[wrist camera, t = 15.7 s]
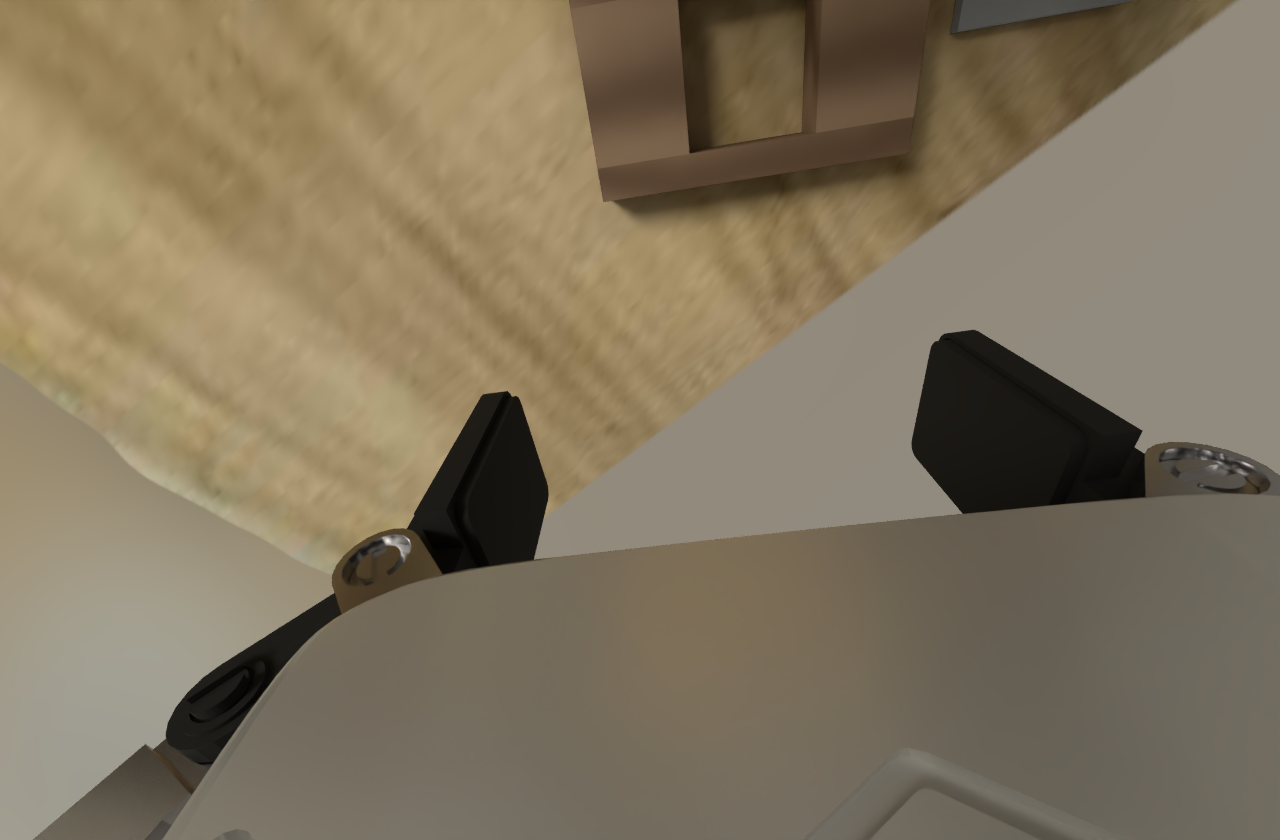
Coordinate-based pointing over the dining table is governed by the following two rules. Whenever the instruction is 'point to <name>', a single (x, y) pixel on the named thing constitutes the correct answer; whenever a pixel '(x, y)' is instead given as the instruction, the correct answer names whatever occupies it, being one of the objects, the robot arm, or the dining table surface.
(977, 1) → the mat
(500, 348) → the dining table surface
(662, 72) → the socket block
